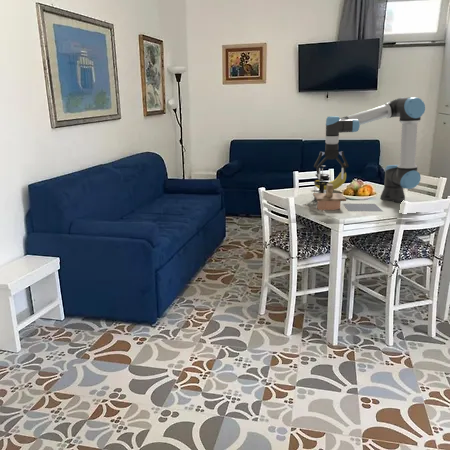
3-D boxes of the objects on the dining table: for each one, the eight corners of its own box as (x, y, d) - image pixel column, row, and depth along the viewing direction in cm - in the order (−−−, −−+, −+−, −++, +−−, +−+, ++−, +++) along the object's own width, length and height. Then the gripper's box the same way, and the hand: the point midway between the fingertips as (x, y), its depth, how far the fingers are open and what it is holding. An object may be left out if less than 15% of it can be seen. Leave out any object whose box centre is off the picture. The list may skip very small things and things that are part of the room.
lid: (340, 195, 277) (341, 182, 275) (346, 201, 261) (347, 187, 259) (313, 195, 278) (313, 182, 276) (316, 200, 262) (317, 187, 260)
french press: (313, 201, 290) (315, 166, 284) (312, 198, 299) (313, 164, 293) (331, 201, 289) (333, 166, 282) (329, 198, 298) (331, 164, 291)
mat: (374, 204, 279) (374, 203, 279) (383, 212, 260) (383, 211, 259) (342, 204, 280) (342, 203, 280) (348, 212, 261) (348, 211, 261)
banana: (313, 190, 325) (314, 163, 320) (313, 189, 330) (314, 162, 325) (345, 191, 320) (347, 163, 315) (345, 189, 326) (347, 162, 320)
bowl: (337, 205, 277) (338, 195, 276) (341, 210, 265) (341, 200, 263) (316, 205, 278) (316, 195, 277) (319, 210, 266) (319, 200, 264)
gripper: (352, 142, 264) (350, 177, 269) (309, 143, 266) (308, 178, 271) (354, 143, 256) (353, 179, 262) (311, 144, 258) (310, 180, 264)
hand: (330, 179), depth 267 cm, fingers open, 13 cm apart
